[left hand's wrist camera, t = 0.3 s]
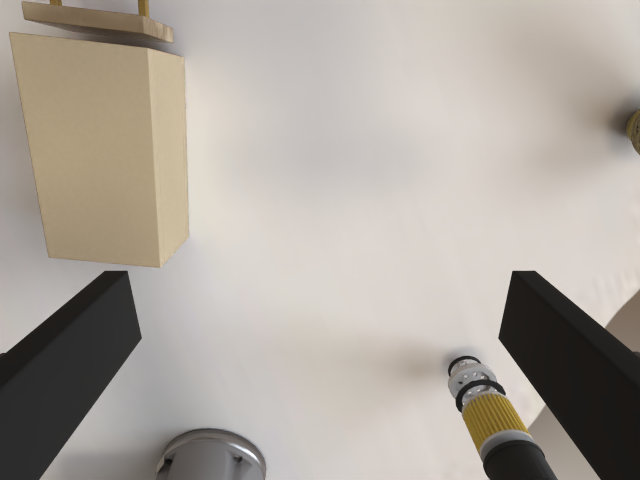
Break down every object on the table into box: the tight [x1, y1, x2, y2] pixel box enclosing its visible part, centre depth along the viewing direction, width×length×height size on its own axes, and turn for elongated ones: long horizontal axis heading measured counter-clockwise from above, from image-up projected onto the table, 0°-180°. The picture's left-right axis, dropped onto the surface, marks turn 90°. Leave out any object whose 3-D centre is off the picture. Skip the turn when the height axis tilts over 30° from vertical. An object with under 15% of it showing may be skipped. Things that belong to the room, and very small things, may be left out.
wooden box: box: [9, 32, 189, 268], centre depth 35 cm, size 18×10×8 cm, turn 174°
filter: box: [448, 356, 558, 480], centre depth 34 cm, size 6×6×30 cm
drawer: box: [22, 0, 173, 43], centre depth 32 cm, size 23×9×6 cm, turn 174°
